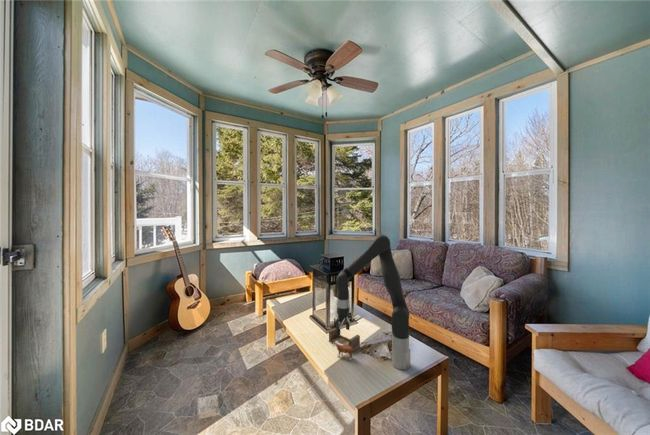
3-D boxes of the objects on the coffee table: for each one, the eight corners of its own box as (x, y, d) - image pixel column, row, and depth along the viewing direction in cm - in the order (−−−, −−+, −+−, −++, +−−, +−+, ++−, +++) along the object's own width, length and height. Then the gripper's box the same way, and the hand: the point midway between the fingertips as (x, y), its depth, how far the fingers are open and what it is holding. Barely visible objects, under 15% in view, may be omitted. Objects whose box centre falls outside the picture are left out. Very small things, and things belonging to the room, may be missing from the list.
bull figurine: (335, 351, 157) (335, 338, 156) (355, 357, 150) (355, 344, 149) (332, 355, 153) (331, 342, 153) (352, 361, 146) (352, 348, 146)
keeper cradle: (359, 346, 162) (359, 335, 161) (351, 352, 155) (351, 341, 155) (337, 336, 175) (337, 326, 175) (328, 341, 168) (328, 330, 168)
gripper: (340, 310, 142) (340, 338, 143) (355, 303, 153) (355, 329, 153) (330, 307, 148) (330, 334, 148) (345, 300, 158) (345, 325, 158)
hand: (343, 331), depth 151 cm, fingers open, 8 cm apart
